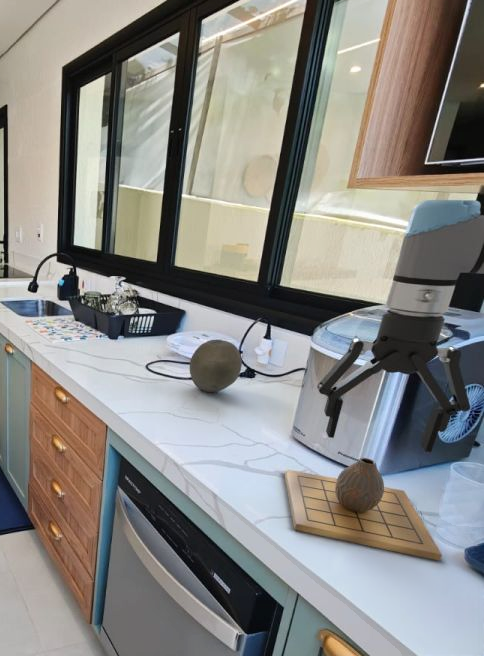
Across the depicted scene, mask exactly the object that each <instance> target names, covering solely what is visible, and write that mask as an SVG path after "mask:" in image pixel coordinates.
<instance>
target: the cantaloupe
mask: <svg viewBox="0 0 484 656" xmlns="http://www.w3.org/2000/svg"><path fill="white" fill-rule="evenodd" d="M242 364H243V359H242V355H241V353H240V350H239V349H238V347H237V346H236V345H235V344H233V343H232V342H230V341H228V340H223V339H210V340H207V341H205V342H203V343H202V344H200V345H199V346H198V347H197V348H196V350H194V352H193V354H192V355H191V358H190V361H189V374H190V379H191V380H192V383H193V384H194V385H195V386H196V388H198V389H200V390H201V391H204V392H205V393H206V392H207V393H217V392H221V391H222V390H225V389H227V388H228V387H230V386H231V385H233V384H234V383H235V382H236V381H237V380H238V378H239V376H240V373H241V371H242V366H243V365H242Z"/></svg>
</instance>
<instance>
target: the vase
mask: <svg viewBox="0 0 484 656" xmlns="http://www.w3.org/2000/svg"><path fill="white" fill-rule="evenodd" d="M336 479H337V481H336V485H335V493H336V497H337V499H338V501H339V502H340V503H341V504H342V505H343V506H344V507H345V508H347V509H349V510H352V511H356V512H365V511H368V510H371V509H373V508H374V507H375V506H377V504H378V503H379V502H380V501H381V498H382V496H383V493H384V487H385V482H384V479H383V477H382V474H381V473H380V471H379V469H378V467H377V463H376V461H375V460H373V459H371V458H367V457H360V458H359V459H358V460H356V461H355V462H354V463H352V464H350V465H349V466H347V467H345V468H344V469H343V470H341V472H340V473H339V475H338V476H337V478H336Z"/></svg>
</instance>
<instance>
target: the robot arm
mask: <svg viewBox="0 0 484 656" xmlns="http://www.w3.org/2000/svg"><path fill="white" fill-rule="evenodd" d="M481 204H482V203H481V202H480V201H479V200H472V199H471V200H470V199H466V200H465V199H426V200H422V201H420V202H418V203H417V204H416V205H415V206H413V208H412V212H411V215H410V218H409V221H408V224H407V227H406V228H405V229H406V230H405V232H404V233H403V239H402V243H401V247H400V251H399V254H398V258H397V263H396V266H395V270H394V274H393V278H392V281H391V285H390V288H389V292H388V295H387V298H386V301H385V307H386V308H388V309H387V310H385V311H384V312H383V313H382V317H381V321H380V325H379V328H378V332H377V335H376V338H375V339H374V340H373V341H367V340H361V339H360V338H359V337H354V338H352V340H351V342H350V344H349V347H348V349H347V351H346V352H345V353H344V354H343V356H342V357H341V358H340V359H338V361H337V362H336V364H335V365H334V366H333V367H331V369H330V370H329V371H328V372H327V374H326V375H324V377H323V379H321V381H319V383H318V384H317V386H316V388H317V390H318V393H319V394H320V395H323V396H326V397H327V398H326V401H325V407H324V409H323V410H324V414H325V416H326V417H328V418H329V419H328V422H327V426H326V429H325V432H326V435H327V438H331V439H334V438H335V434H336V431H337V427H338V423H339V419H340V415H341V411H342V408H343V404H344V400H343V398H342V396H344V395H346V394H347V393H348V392H350V391H351V390H352V389H354V388H356V387H357V386H359V385H360V384H361V383H362V382H364V381H366V380H367V379H369V378H370V377H372V376H373V375H376V374H378V373H379V372H381V371H382V370H383V371H384V372H386V373H391V374H394V373H401V374H403V375H411V374H414V373H417V375H418V376H419V378H420V379H421V381H422V382H423V384H424V385H425V388H427V390H428V391H429V393H430V394H431V396H432V398H433V399H434V401H435V402H436V403H437V405H438V407H434V406H433V407H431V410H430V413H429V416H428V419H427V422H426V425H425V429H424V431H423V434H422V436H421V437H422V438H421V440H420V444H419V445H420V447H421V448H422V449H423V450H424V451H425V452H427V453H432V451H433V449H434V445H435V442H436V439H437V436H438V433H439V432H441V433H444V432H445V431H446V430H447V428H448V425H449V422H450V419H451V417H452V416H455V415H456V413H457V412H461V411H462V412H468V411H469V410H470V409H471V404H470V401H469V400H470V399H469V397H468V393H467V389H466V385H465V382H464V378H463V375H462V371H461V367H460V362H461V356H462V352H461V350H459V348H457V347H455V346H452V345H448V346H447V347H437V345H438V341H439V339H440V335H441V333H442V330H443V326H444V323H445V320H446V319H445V317H444V316H443V315H442V314H445V313H447V312H448V310H449V307H450V304H451V300H452V297H453V295H454V291H455V288H456V285H457V281H458V278H459V276H460V274H461V273H462V274H463V273H464V274H465V273H466V274H480V275H481V274H483V275H484V215H483V214H481V207H482V205H481ZM367 351H371V353H372V357H371V358H370V359H368V360H367V361H366V362H365V363H364V364H363V365H361V366H360V367H359V368H358V369H356V370H355V371H353V372H352V373H350V374H349V375H347V376H346V377H345V378H343V379H342V380H340V379H341V378H342V377H343V376H344V375H345V374H346V372H347V371H348V370H349V369H350V368H351V367H352V366H353V365H354V363H356V361H357V360H358V359H359V357H360V356H363V355H365V354H366V353H367ZM437 357H438V360H439V361H440V362H442V364H443V366H444V372H445V375H446V379H447V382H448V385H449V389H450V393H451V396H452V400H451V401H450V400H449V398H448V396H447V395H446V393H445V392H444V390H443V389H442V387H441V385H440V384H439V383H438V382H437V380H436V379H435V377H434V376H433V372H431V370H430V368H429V367H428V364H429V363H430V362H432V361H433V360H434V359H436V358H437ZM339 380H340V381H339Z"/></svg>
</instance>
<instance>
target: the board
mask: <svg viewBox="0 0 484 656" xmlns="http://www.w3.org/2000/svg"><path fill="white" fill-rule="evenodd" d="M284 479H285V484H286V491H287V496H288V501H289V502H288V503H289V507H290V508H289V509H290V513H291V519H292V524H293V530H294V531H298V532H303V533H307V534H313V535H317V536H320V537H321V536H322V537H326V538H331V539H336V540H340V541H345V542H349V543H354V544H357V545H362V546H363V545H364V546H369V547H373V548H377V549H382V550H386V551H392V552H397V553H400V554H405V555H410V556H415V557H419V558H423V559H429V560H433V561H438V562H440V560H441V558H442V556H443V554H442V552H441V550H440V549H439V547H438V545H437V544H436V542H435V541H434V539H433V537H432V535H431V533H430V532H429V530H428V529H427V527H426V525H425V524H424V522H423V521H422V519H421V517H420V515H419V514H418V512H417V511H416V508H415V507H414V505H413V503H412V502H411V500H410V498H409V497H408V495H407V493H406V492H405V490H403V489H398V488H391V487H386V486H384V493H383V496H382V498H381V501H380V502H379V503H378V504H377V506H375V507H374V508H373V509H371V510H368V511H365V512H356V511H352V510H349V509H347V508H345V507H344V506H343V505H342V504H341V503H340V502H339V501H338V499H337V497H336V493H335V485H336V481H337V478H336V477H330V476H325V475H319V474H313V473H307V472H303V471H298V470H292V469H285V471H284Z"/></svg>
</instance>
